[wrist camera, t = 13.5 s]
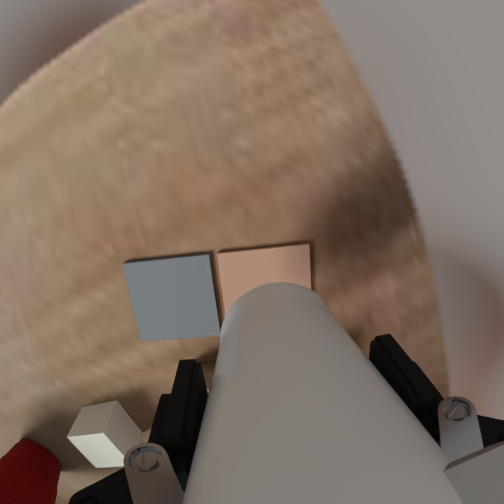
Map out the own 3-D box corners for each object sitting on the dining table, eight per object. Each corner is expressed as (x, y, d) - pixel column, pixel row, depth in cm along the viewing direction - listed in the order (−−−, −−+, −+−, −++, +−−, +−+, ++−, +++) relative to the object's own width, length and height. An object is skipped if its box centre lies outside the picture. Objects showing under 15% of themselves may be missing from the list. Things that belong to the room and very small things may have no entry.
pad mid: (142, 338, 21) (141, 340, 21) (124, 262, 19) (122, 263, 19) (220, 333, 21) (220, 335, 21) (209, 253, 19) (208, 254, 19)
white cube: (107, 436, 24) (95, 467, 20) (82, 406, 23) (66, 436, 19) (142, 431, 24) (133, 465, 20) (117, 399, 22) (103, 432, 19)
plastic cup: (26, 472, 26) (-4, 535, 15) (-11, 414, 23) (-58, 481, 12) (94, 491, 27) (71, 568, 15) (60, 435, 24) (17, 524, 12)
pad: (228, 332, 21) (228, 335, 21) (217, 252, 19) (217, 253, 19) (311, 323, 21) (312, 325, 21) (308, 243, 20) (309, 244, 19)
